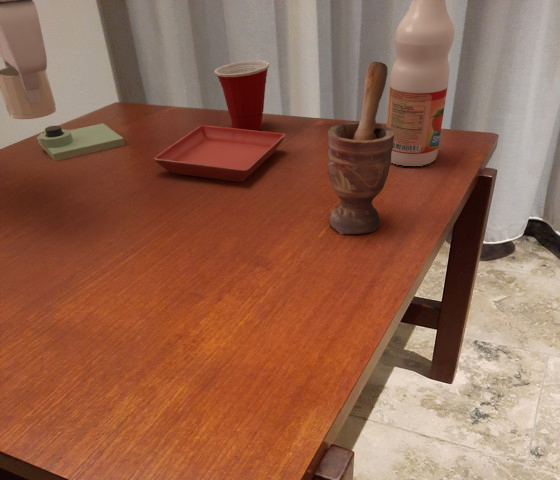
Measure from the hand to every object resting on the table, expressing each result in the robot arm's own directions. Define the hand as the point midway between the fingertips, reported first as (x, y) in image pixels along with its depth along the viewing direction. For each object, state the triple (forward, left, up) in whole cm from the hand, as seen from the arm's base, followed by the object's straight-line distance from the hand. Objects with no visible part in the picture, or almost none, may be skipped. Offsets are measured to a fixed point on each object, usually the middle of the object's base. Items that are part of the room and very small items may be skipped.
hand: (28, 95), depth 79 cm
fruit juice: (+58, -19, -17) cm, 63 cm away
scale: (+12, +27, -16) cm, 34 cm away
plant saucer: (+30, 0, -17) cm, 34 cm away
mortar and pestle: (+35, -32, -17) cm, 50 cm away
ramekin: (0, 0, -2) cm, 2 cm away
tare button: (+7, +27, -14) cm, 31 cm away
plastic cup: (+43, +14, -17) cm, 48 cm away
